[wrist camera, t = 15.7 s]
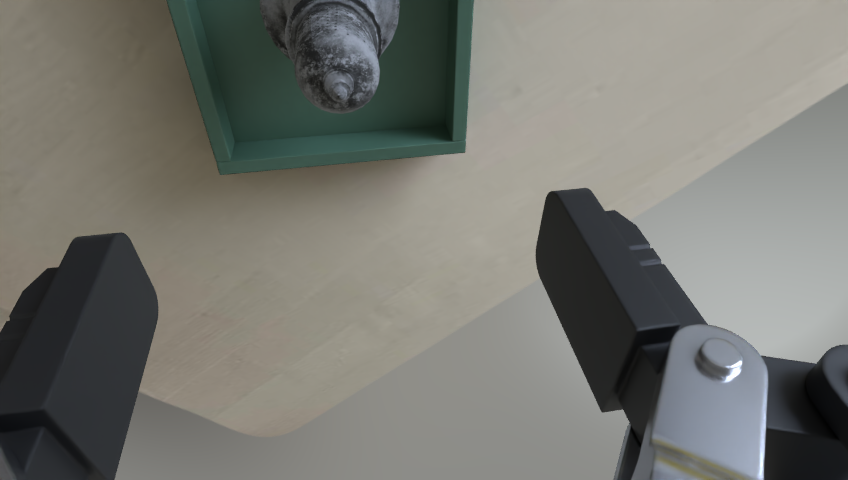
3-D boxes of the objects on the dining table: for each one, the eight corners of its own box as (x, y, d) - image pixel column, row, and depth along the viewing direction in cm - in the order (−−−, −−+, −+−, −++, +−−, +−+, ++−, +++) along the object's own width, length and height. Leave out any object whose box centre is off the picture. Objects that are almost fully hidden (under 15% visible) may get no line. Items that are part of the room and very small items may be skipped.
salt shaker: (315, 67, 28) (319, 205, 19) (236, -39, 24) (194, 70, 15) (412, 5, 26) (466, 120, 17) (344, -118, 23) (368, -50, 14)
